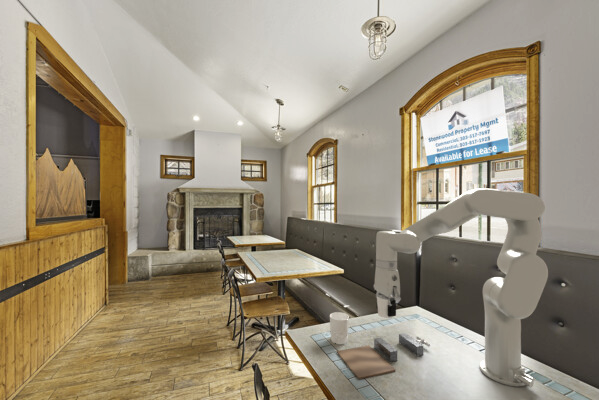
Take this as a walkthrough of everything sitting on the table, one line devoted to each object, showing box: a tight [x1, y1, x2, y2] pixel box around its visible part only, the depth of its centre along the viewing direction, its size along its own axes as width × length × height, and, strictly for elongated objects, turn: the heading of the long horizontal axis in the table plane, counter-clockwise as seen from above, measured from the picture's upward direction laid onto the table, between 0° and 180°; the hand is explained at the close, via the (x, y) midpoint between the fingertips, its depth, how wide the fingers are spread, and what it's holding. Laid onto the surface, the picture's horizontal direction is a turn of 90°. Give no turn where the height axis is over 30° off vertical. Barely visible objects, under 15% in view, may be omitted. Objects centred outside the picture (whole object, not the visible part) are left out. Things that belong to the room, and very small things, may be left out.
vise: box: [373, 332, 431, 363], centre depth 102 cm, size 10×20×4 cm, turn 108°
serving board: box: [336, 344, 396, 380], centre depth 95 cm, size 16×14×1 cm
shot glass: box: [376, 293, 395, 319], centre depth 100 cm, size 7×7×7 cm
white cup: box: [329, 311, 350, 345], centre depth 109 cm, size 8×8×10 cm
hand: (385, 311), depth 99 cm, fingers closed on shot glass, 6 cm apart
